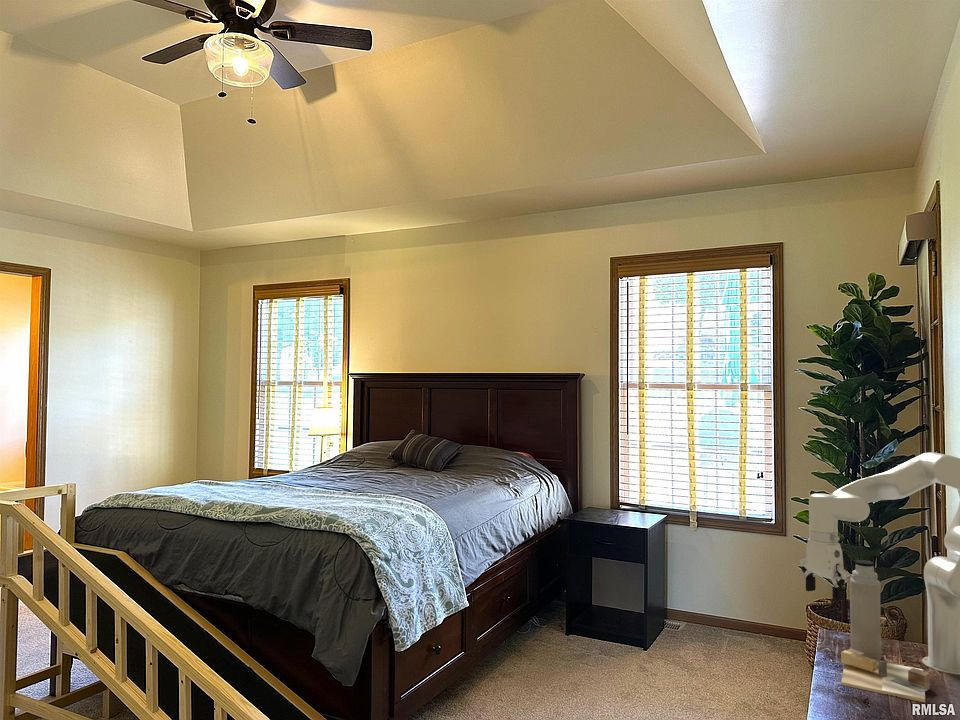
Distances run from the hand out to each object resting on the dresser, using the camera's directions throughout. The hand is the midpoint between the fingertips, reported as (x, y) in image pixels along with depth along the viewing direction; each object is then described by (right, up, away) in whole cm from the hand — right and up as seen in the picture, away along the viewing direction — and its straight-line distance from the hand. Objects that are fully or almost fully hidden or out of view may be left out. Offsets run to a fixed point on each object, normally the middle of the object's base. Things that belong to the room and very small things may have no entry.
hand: (823, 595), depth 204 cm
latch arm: (+6, -17, -8) cm, 20 cm away
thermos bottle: (+14, -19, +3) cm, 24 cm away
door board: (+10, -19, -13) cm, 25 cm away
